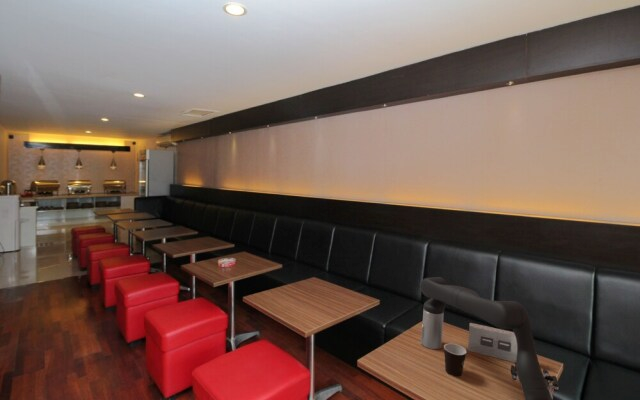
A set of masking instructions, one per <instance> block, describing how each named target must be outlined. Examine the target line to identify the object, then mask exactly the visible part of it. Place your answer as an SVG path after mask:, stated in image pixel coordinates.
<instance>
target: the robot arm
mask: <svg viewBox="0 0 640 400" xmlns="http://www.w3.org/2000/svg"><path fill="white" fill-rule="evenodd" d="M419 287H420V288H419V289H420V291H421V293H422V294H423V295H424V296H425V297H427V298H429V299H428V300H426V301H424V304H423V309H422V311H423V313H422V324H421V336H420V337H421V338H420V345H421V346H424V347H426V348H427V349H430V350H431V349H432V350H440V349H441V348H442V345H443V330H444V311H445V308H446V305H449V306H451V307H454V308H455V309H458V310H460V311H463V312H465V313H467V314H471V315H472V316H476V317H478V318H480V319H482V320H483V321H485V322H487V323H488V324H491V325H492V326H494V327H496V328H497V329H501V330H512V332H514V334H515V336H516V340H517V359H516V363H515V362H514V365H513V364H511V365H510V374H511V377H512V380H513V381H517V380H518V381H519V383H520V386H521V389H522V392H523V395H524V400H554V397H553V394H552V392H551V391H552V390H551V389H553V390H554V391H555V392H559V386H560V385H559V382H558V381H559V380H558V378H557V376H555V375H551V374H550V373H549V371H548V369H546V368H545V367H544V368H541V366H540V362H539V359H538V354H537V350H536V346H535V340H534V336H533V333H532V332H533V331H532V326H531V322H530V319H529V316H528V315H529V314H528V312H527V310H526V309H525V307H524V305H523V304H521V303H520V302H518V301H513V300H511V301H510V300H508V301H507V300H491V299H487V298H483V297H480V295H479V294H478V293H477V292H476V291H475V290H472V289H470V288H467V287H465V286H459V285H454V284H453V285H451V284H447V282H446V280H445V279H444V277H441V276H436V277H435V276H433V277H425V278H423V279H422V280H421V281H420V284H419Z"/></svg>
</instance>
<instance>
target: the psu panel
mask: <svg viewBox="0 0 640 400" xmlns="http://www.w3.org/2000/svg"><path fill="white" fill-rule="evenodd" d="M468 326H469V327H468V328H469V329H468V342H467V343H468V344H467V351H468V352H472V353H476V354H479V355H480V354H481V355H483V356H488V357H492V358H495V359H500V360H505V361H506V362H507V361H508V362H511V363H514V364H515V363H516V359H517V340H516V336H515V334H514V332H513V331H510V330H507V329H501V328H497V327H496V328H495V327H491V326H487V325H482V324H477V323H473V322H469V325H468Z"/></svg>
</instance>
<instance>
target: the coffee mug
mask: <svg viewBox="0 0 640 400" xmlns="http://www.w3.org/2000/svg"><path fill="white" fill-rule="evenodd" d="M443 349H444V365H445V372H446V374H448V375H449V376H452V377H455V378H457V377H458V378H459V377H461V376H462V375H463V369H464V366H465V362H466V357H467V350H466V348H465V347H464V346H461V345H460V344H456V343H446V344H444V345H443Z"/></svg>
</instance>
